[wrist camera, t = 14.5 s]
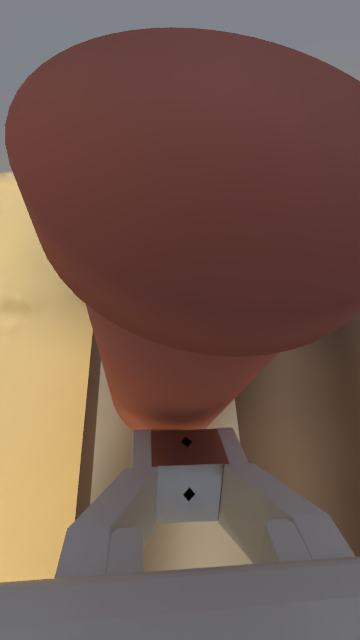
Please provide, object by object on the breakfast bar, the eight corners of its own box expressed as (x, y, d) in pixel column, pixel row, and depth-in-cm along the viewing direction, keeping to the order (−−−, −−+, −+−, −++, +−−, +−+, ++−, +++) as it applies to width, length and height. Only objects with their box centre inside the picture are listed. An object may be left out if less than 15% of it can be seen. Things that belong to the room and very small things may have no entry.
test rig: (66, 690, 11) (25, 801, 7) (103, 261, 19) (94, 201, 15) (638, 624, 14) (842, 676, 10) (448, 273, 22) (515, 225, 18)
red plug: (95, 455, 12) (-61, 302, 3) (105, 322, 15) (44, 9, 5) (241, 450, 13) (535, 313, 3) (225, 324, 16) (363, 48, 6)
